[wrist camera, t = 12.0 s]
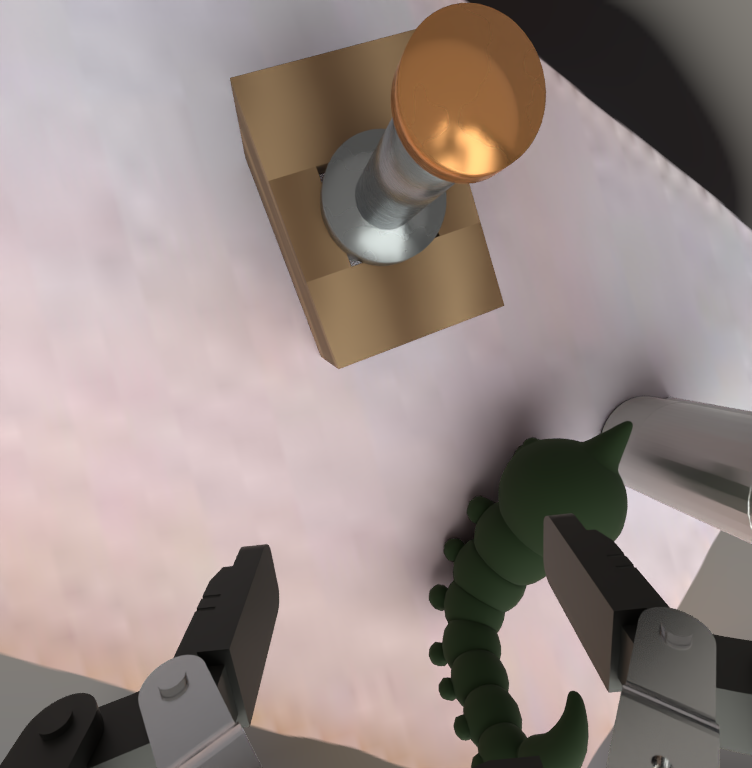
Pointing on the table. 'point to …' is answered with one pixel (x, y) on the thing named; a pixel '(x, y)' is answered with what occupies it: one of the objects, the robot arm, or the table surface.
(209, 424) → the table surface
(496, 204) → the table surface
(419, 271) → the wooden block with hole
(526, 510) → the toy figurine
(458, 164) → the pin
